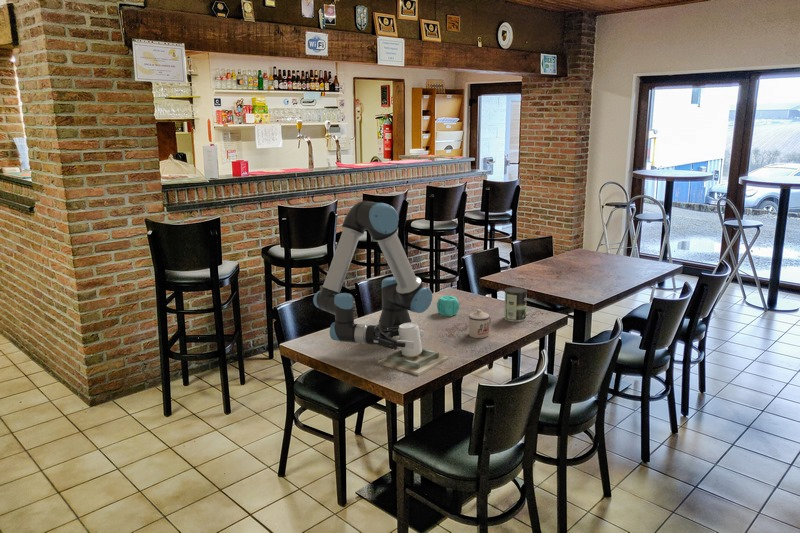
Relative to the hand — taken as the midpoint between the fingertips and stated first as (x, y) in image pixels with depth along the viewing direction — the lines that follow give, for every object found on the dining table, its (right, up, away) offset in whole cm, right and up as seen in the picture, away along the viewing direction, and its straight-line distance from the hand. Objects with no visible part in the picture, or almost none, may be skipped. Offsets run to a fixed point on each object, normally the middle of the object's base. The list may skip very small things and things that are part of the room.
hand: (419, 339), depth 237 cm
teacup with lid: (+28, -2, +32) cm, 42 cm away
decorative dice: (+16, +5, +61) cm, 63 cm away
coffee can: (+47, +3, +52) cm, 70 cm away
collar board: (-2, -9, +3) cm, 10 cm away
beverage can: (-2, -7, +5) cm, 9 cm away
